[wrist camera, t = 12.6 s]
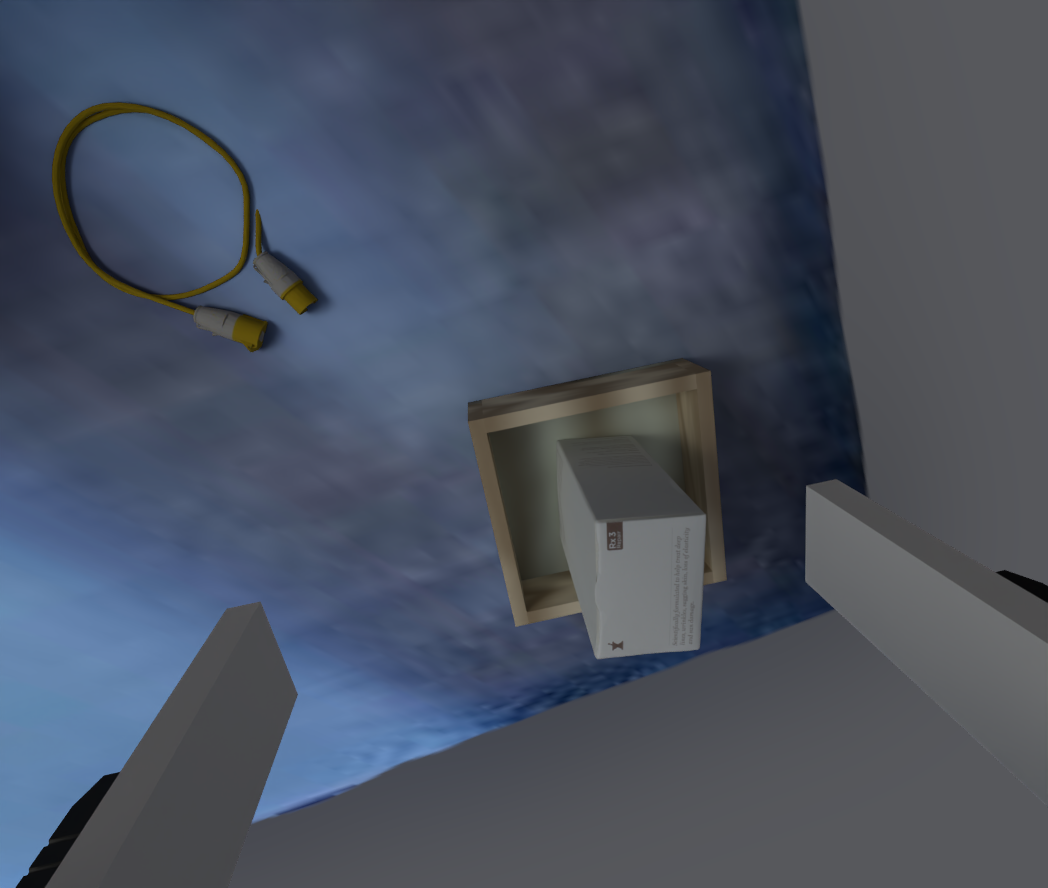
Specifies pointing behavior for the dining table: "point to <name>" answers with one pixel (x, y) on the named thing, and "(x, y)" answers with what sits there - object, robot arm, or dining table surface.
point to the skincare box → (630, 547)
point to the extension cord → (208, 318)
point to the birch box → (575, 413)
